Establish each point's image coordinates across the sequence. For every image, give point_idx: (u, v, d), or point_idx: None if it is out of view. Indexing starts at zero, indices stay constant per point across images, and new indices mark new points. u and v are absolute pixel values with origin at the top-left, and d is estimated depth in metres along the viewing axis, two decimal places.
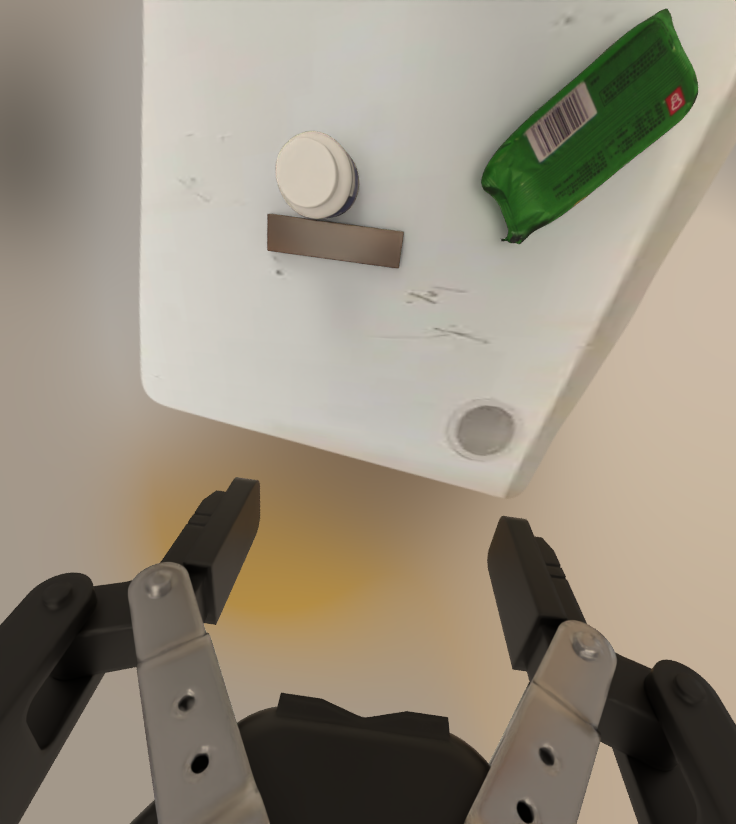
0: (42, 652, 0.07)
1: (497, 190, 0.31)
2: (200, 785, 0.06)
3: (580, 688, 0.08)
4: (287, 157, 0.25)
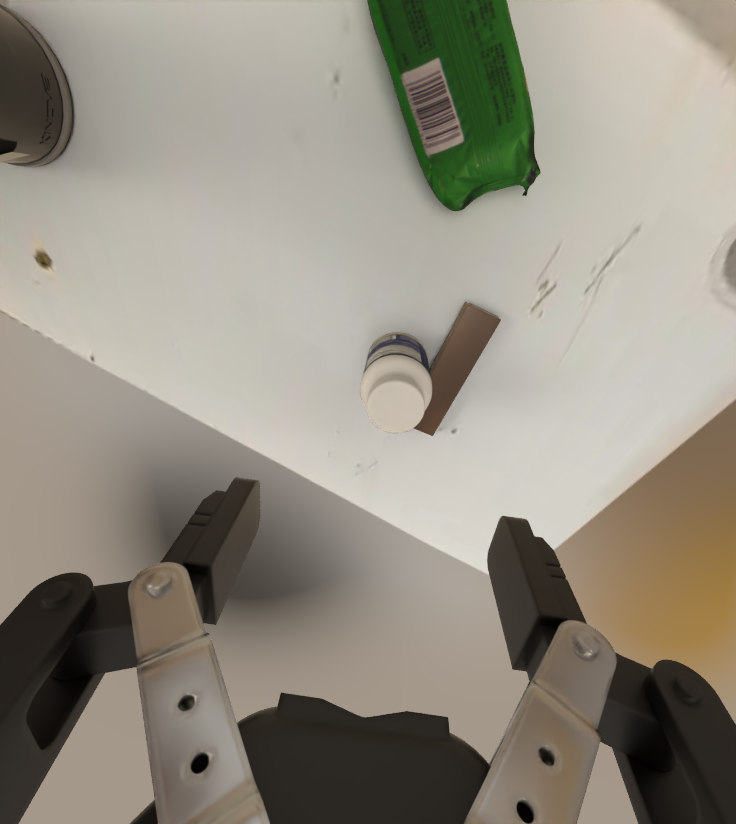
0: (42, 652, 0.07)
1: (470, 194, 0.26)
2: (200, 785, 0.06)
3: (580, 687, 0.08)
4: (378, 418, 0.27)
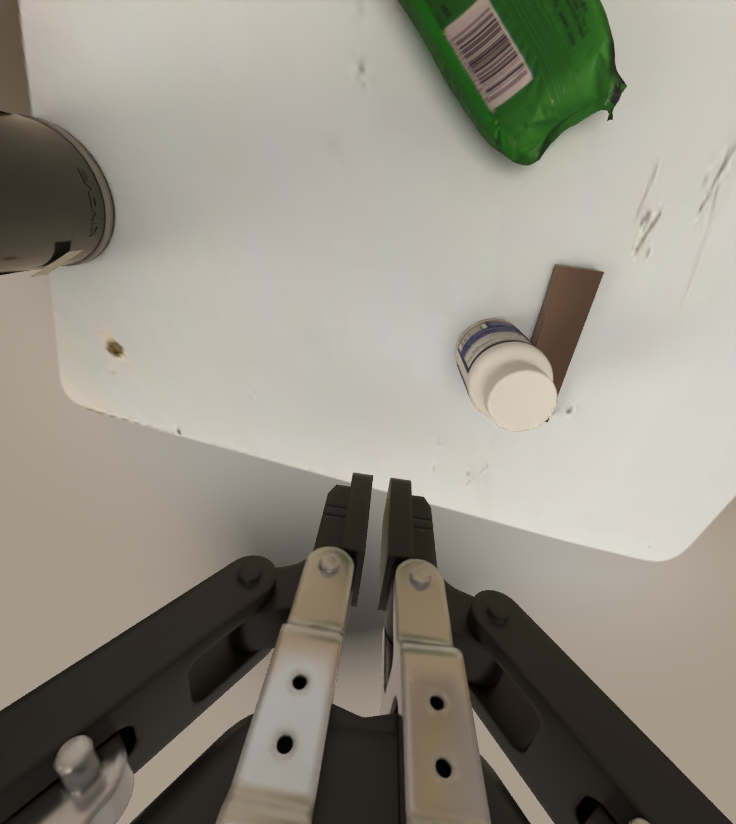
0: (218, 621, 0.08)
1: (546, 139, 0.23)
2: (276, 764, 0.06)
3: (429, 618, 0.09)
4: (504, 418, 0.24)
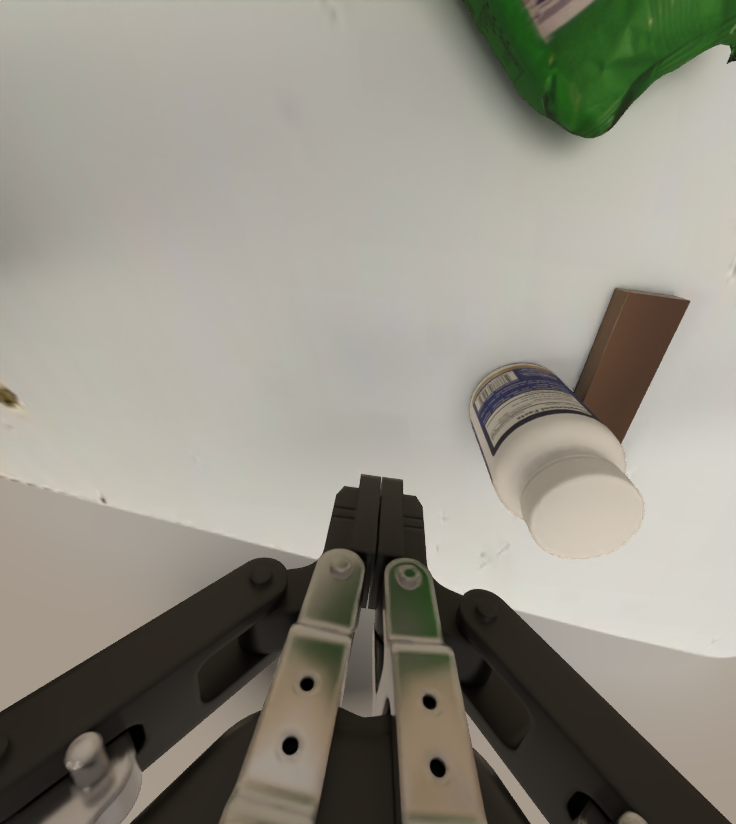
0: (228, 623, 0.08)
1: (629, 93, 0.14)
2: (281, 765, 0.06)
3: (420, 616, 0.09)
4: (555, 542, 0.15)
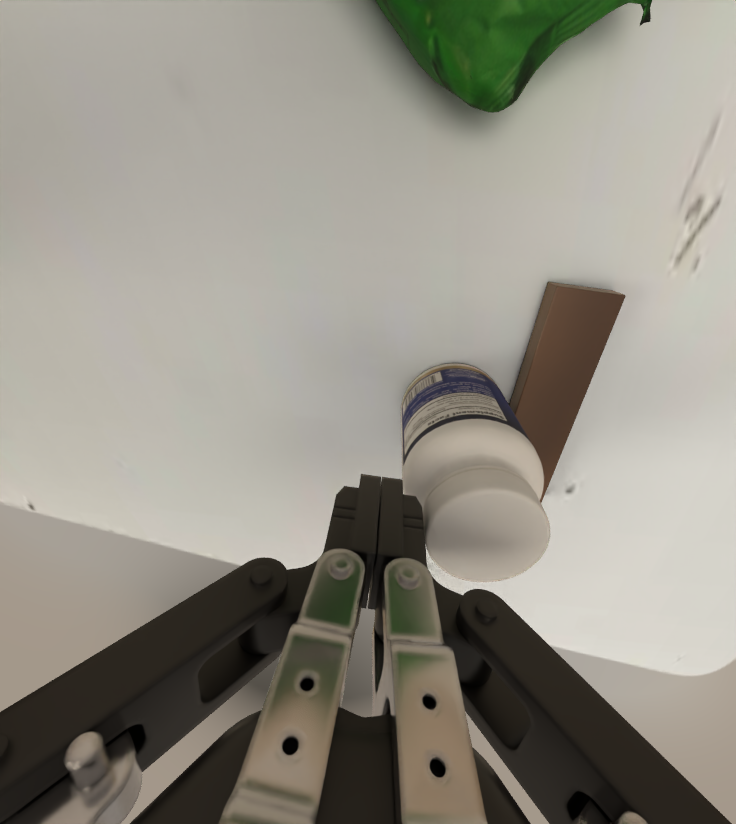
0: (229, 623, 0.08)
1: (527, 59, 0.12)
2: (281, 765, 0.06)
3: (419, 616, 0.09)
4: (456, 563, 0.13)
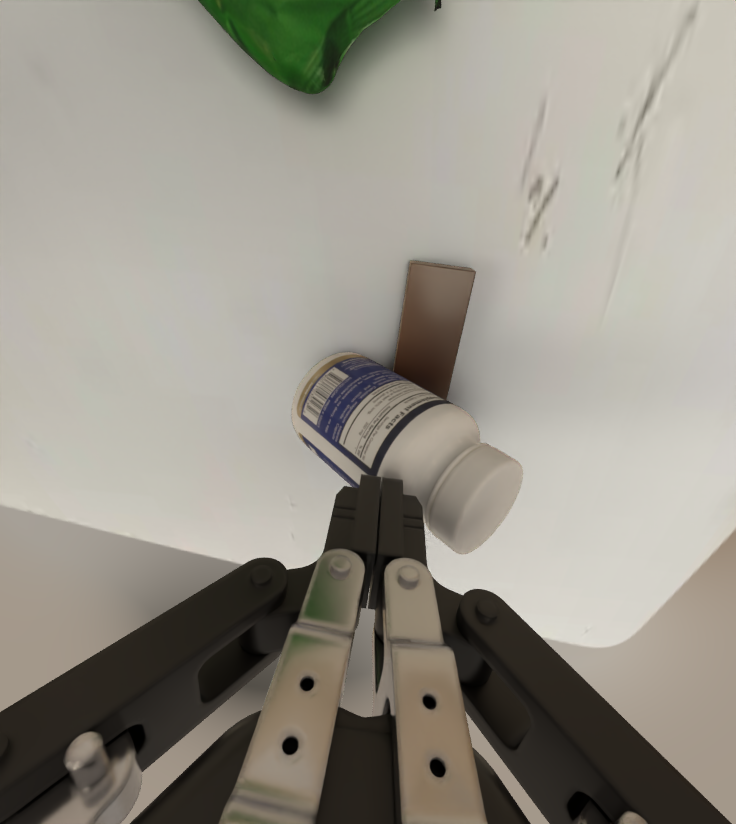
0: (228, 623, 0.08)
1: (328, 42, 0.13)
2: (281, 765, 0.06)
3: (420, 616, 0.09)
4: (470, 542, 0.14)
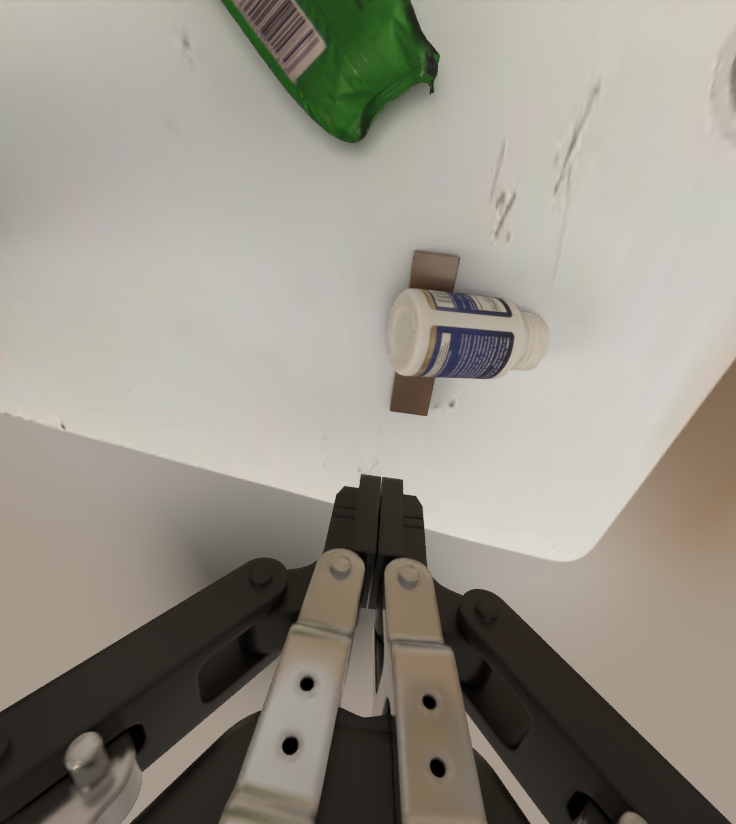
0: (229, 623, 0.08)
1: (364, 114, 0.21)
2: (281, 765, 0.06)
3: (420, 616, 0.09)
4: None
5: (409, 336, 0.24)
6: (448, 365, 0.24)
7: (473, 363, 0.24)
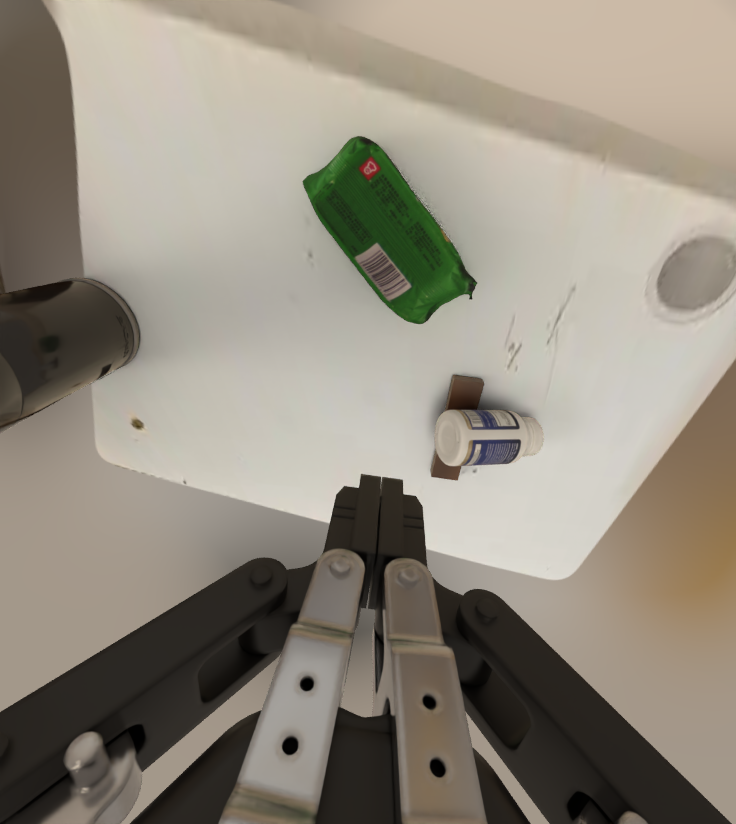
0: (228, 623, 0.08)
1: (429, 312, 0.34)
2: (281, 765, 0.06)
3: (420, 616, 0.09)
4: None
5: (453, 442, 0.37)
6: (478, 461, 0.37)
7: (494, 459, 0.37)
